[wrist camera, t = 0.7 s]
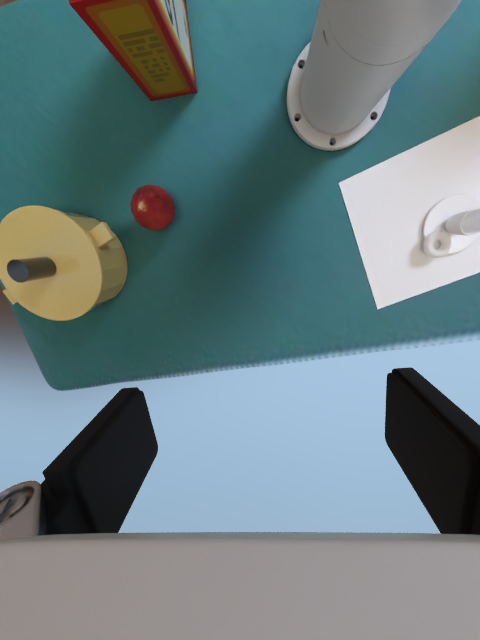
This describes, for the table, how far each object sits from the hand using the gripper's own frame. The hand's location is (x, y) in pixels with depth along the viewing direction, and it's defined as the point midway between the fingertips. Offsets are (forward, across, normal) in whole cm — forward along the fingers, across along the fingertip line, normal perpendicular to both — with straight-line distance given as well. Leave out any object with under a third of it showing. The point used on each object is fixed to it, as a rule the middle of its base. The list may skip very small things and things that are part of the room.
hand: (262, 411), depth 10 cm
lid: (+26, +29, -6) cm, 39 cm away
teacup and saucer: (+33, -24, -6) cm, 42 cm away
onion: (+33, +14, -12) cm, 38 cm away
